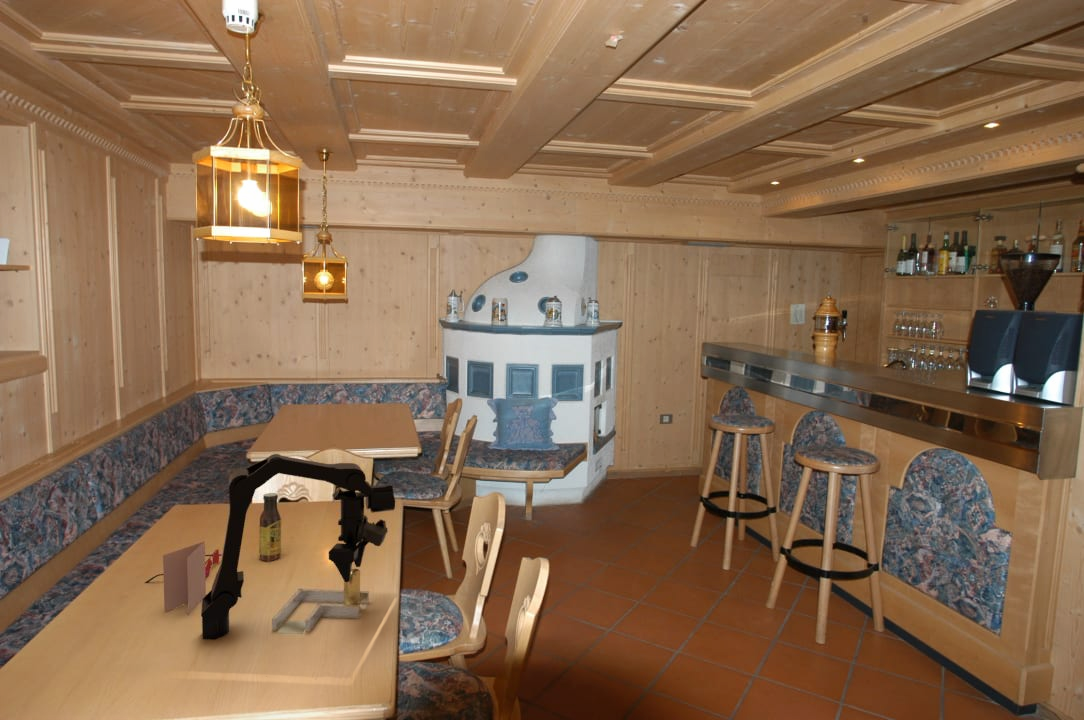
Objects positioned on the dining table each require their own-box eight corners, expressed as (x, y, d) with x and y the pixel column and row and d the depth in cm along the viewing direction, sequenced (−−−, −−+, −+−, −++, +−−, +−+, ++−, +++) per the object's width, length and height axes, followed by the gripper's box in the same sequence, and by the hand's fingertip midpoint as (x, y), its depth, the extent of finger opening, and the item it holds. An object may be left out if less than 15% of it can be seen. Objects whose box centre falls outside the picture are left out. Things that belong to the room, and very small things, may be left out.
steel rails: (349, 633, 159) (349, 621, 158) (272, 630, 159) (271, 618, 159) (368, 602, 175) (368, 591, 175) (299, 599, 176) (298, 588, 175)
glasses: (208, 581, 188) (207, 564, 188) (144, 584, 186) (143, 567, 185) (222, 562, 202) (222, 546, 202) (163, 564, 199) (163, 548, 199)
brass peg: (357, 613, 169) (357, 575, 168) (341, 612, 169) (341, 574, 168) (362, 606, 173) (362, 568, 172) (346, 605, 173) (346, 568, 172)
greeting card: (203, 594, 180) (202, 540, 178) (221, 601, 176) (220, 546, 175) (162, 611, 170) (160, 554, 168) (180, 618, 166) (179, 560, 165)
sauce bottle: (273, 562, 202) (272, 498, 200) (254, 560, 203) (253, 497, 201) (285, 554, 208) (285, 492, 206) (267, 552, 209) (267, 490, 207)
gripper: (373, 528, 159) (373, 591, 160) (393, 504, 177) (393, 560, 179) (327, 526, 159) (328, 589, 161) (351, 502, 178) (352, 559, 179)
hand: (352, 574), depth 170 cm, fingers open, 9 cm apart
